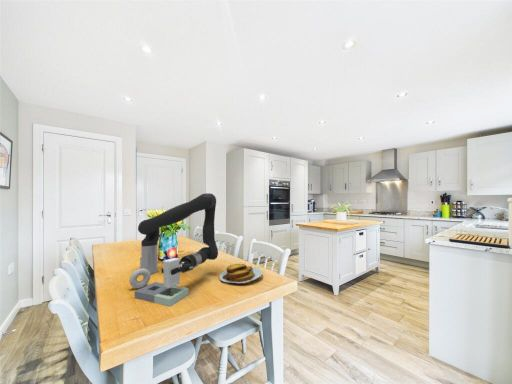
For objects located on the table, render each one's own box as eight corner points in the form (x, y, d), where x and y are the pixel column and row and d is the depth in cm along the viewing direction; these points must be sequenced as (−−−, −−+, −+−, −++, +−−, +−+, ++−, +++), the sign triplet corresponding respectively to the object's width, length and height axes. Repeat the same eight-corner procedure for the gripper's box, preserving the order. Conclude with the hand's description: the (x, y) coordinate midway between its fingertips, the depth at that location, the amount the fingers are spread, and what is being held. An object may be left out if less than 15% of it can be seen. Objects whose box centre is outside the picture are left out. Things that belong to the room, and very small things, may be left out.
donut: (130, 292, 107) (130, 271, 107) (128, 289, 109) (128, 270, 110) (151, 286, 114) (151, 267, 114) (149, 284, 116) (149, 265, 117)
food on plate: (258, 288, 111) (257, 275, 111) (212, 285, 115) (212, 273, 116) (265, 271, 136) (264, 260, 136) (227, 269, 140) (227, 259, 141)
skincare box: (174, 282, 104) (174, 257, 104) (180, 284, 101) (179, 258, 102) (162, 286, 99) (162, 260, 99) (168, 289, 96) (168, 261, 97)
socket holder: (134, 297, 101) (134, 291, 101) (155, 287, 112) (155, 281, 112) (170, 306, 92) (170, 299, 93) (188, 294, 104) (188, 288, 104)
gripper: (202, 269, 111) (179, 282, 95) (180, 266, 116) (155, 278, 100) (202, 255, 111) (179, 265, 95) (180, 252, 116) (154, 262, 101)
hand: (166, 271), depth 98 cm, fingers closed on skincare box, 5 cm apart
